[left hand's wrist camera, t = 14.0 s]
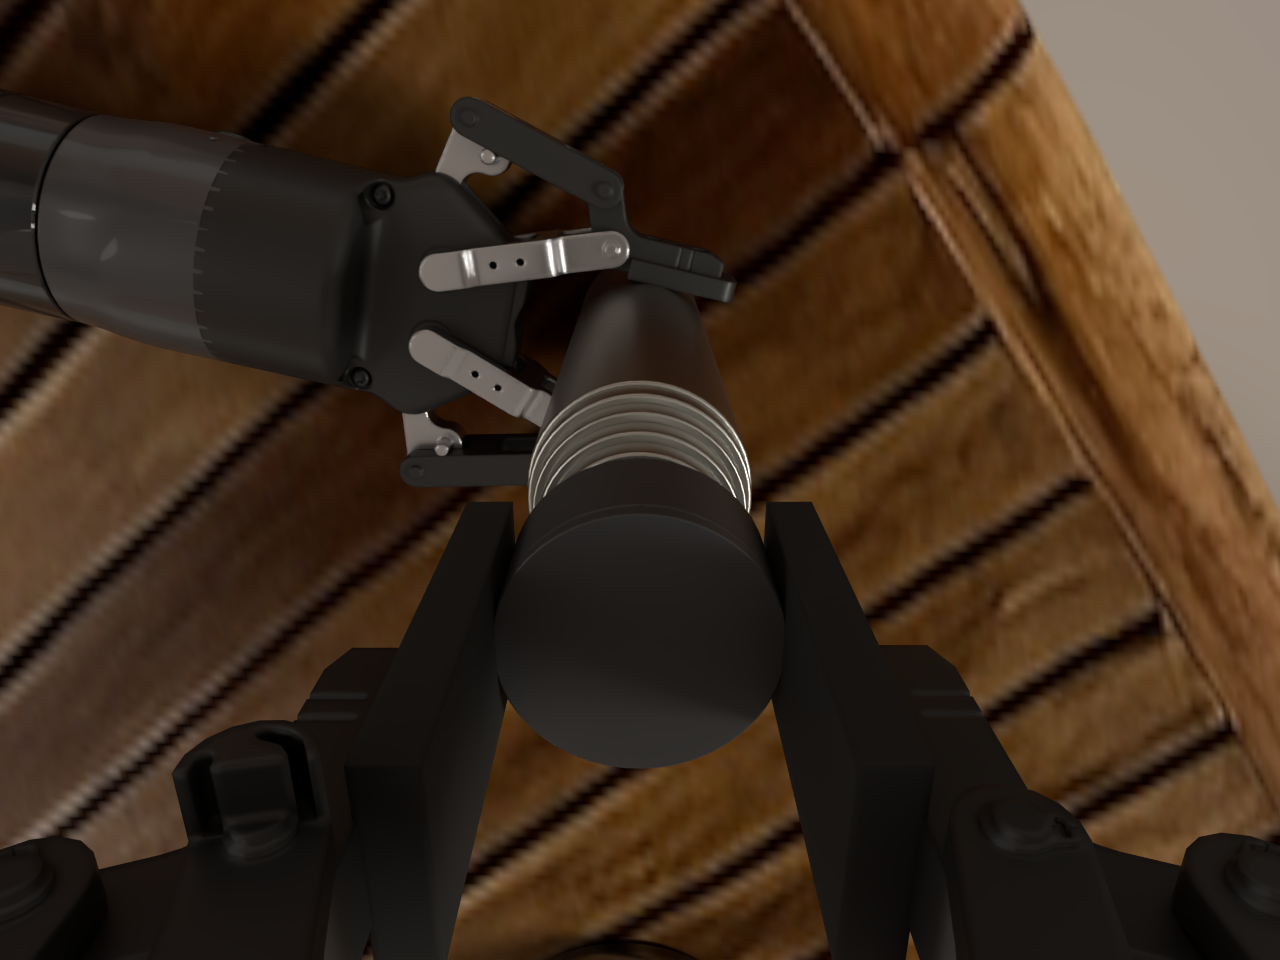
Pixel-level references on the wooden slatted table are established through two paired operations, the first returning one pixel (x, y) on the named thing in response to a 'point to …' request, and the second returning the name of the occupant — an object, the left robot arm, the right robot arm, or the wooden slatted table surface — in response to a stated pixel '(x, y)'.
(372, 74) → the wooden slatted table surface
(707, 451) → the bottle
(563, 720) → the cap
